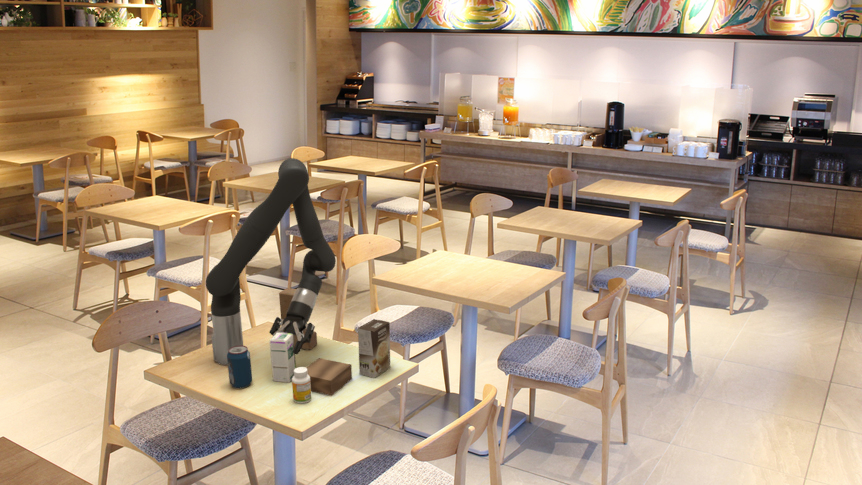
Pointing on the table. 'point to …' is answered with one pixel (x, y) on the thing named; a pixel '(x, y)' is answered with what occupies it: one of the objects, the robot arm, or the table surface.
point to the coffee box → (374, 348)
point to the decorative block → (285, 301)
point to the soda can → (239, 367)
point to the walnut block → (328, 375)
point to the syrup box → (282, 357)
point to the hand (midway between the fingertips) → (283, 351)
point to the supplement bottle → (301, 385)
